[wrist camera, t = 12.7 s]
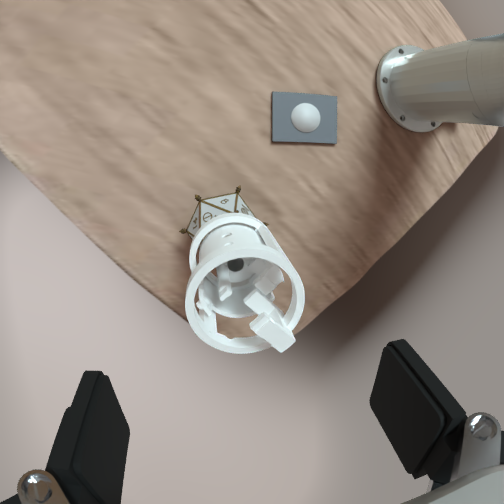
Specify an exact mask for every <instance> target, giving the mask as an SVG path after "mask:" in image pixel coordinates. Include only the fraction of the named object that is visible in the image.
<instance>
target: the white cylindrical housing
mask: <svg viewBox="0 0 504 504" xmlns="http://www.w3.org/2000/svg"><path fill="white" fill-rule="evenodd" d="M244 223H245V224H244ZM247 224H249V225H251V226H253V227H251V226H249V225H247ZM208 232H209V233H208ZM207 233H208V234H207ZM206 234H207V235H206ZM205 235H206V236H205ZM204 236H205V238H204ZM203 238H204V239H203ZM202 239H203V241H202V243H201V246H200V251H199V264H198V265H197V261H196V252H197V249H198V246H199V244H200V242H201V240H202ZM189 263H190V269H191V272H192V274H191V276H190V278H189V281H188V284H187V289H186V299H185V310H186V315H187V319H188V321H189V324H190V326H191V328H192V329H193V330H194V332H195V333H196V334H197V336H199V338H200V339H202V340H203V341H204V342H206V343H207V344H208V345H210V346H212V347H214V348H216V349H218V350H222V351H225V352H229V353H239V354H244V353H253V352H258V351H261V350H264V349H267V348H269V347H271V346H273V347H274V348H275V349H277V350H278V351H279V352H281V353H282V352H283V351H285V350H286V349H287V348H289V347H290V346H291V345H292V344H293V343H294V342H295V341H296V340H295V338H294V336H293V333H292V330H293V329H294V328H295V326H296V325H297V323H298V321H299V319H300V317H301V315H302V312H303V308H304V303H305V292H304V287H303V283H302V281H301V278H300V276H299V275H298V273H297V271H296V270H295V268H294V267H293V265H292V264H291V262H290V261H289V259H288V258H287V256H286V255H285V253H284V252H283V250H282V249H281V247H280V246H279V244H278V243H277V241H276V240H275V238H274V237H273V235H272V234H271V232H270V231H269V229H268V228H267V227H266V226H265V225H264V224H263V223H262V222H261V221H260V220H258V219H256V218H255V217H252V216H250V215H247V214H243V213H226V214H221V215H218V216H216V217H214V218H212V219H210V220H209V221H207V222H206V223H205V224H204V225H202V226H201V228H200V229H199V230H198V231H197V233H196V234H195V236H194V238H193V240H192V243H191V248H190V256H189ZM215 267H216V270H217V277H216V276H215V275H213V274H212V273H211V272H210V271H211V270H212V269H214V268H215ZM279 267H281V268H282V269H283V270H284V271H285V272H286V273H287V274H288V275H289V277H290V279H291V283H292V300H291V303H290V306H289V309H288V311H287V312H286V314H285V315H284V313H283V311H282V310H280V309H279V308H278V307H277V306H276V305H275V304H273V303H272V302H273V300H274V299H275V297H274V295H273V293H272V291H273V290H274V289H275V288H276V286H277V285H278V284H279V283H280V282H281V281H283V282H284V278H283V274H282V272H281V269H280V268H279ZM198 286H199V301H198V302H197V303H196V305H197V307H198V308H199V315H198V313H197V310H196V307H195V303H194V297H195V293H196V290H197V288H198ZM215 312H217V313H219V314H221V315H223V316H227V317H232V318H244V317H249V316H252V315H255V314H258V315H259V316H258V317H257V318H256V319H254V320H253V321H252V322H251V323H250V328H251V329H252V330H253V331H254V332H255V333H256V334H257V335H256V336H252V337H246V338H233V339H228V338H227V337H226V336H225V335H222V334H219V333H217V327H216V315H215Z"/></svg>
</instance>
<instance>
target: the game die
mask: <svg viewBox="0 0 504 504" xmlns="http://www.w3.org/2000/svg"><path fill="white" fill-rule="evenodd" d="M240 190H241V187H240V186H239V187H237V189H236V192H235V193H231V194H226V195H221V196H216V197H211V198H207V199H202V200H201V197H200V196H199V195H195V199H196V200H197V201H199V203H198V205H197V207H196V210H195V212H194V214H193V216H192V219H191V221H190V223H189V226H188V228H187V229H182V230H181V231H179V232H181V233H182V234H183V233H186V232H187V233H188V235H189V236H190V238H191V239H192V240H193V238H194V236H195V234H196V233H197V231H198V230H199V229H200V228H201V226H202V225H204V224H205V223H206V222H207V221H209V220H210V219H212V218H214V217H216V216H218V215H221V214H226V213H243V214H247V215H250V216H252V217H255V216H254V214H253V213H252V212H251V210H250V209H249V207H248V206H247V205H246V203H245V202H244V201H243V199H242V198H241V197H240V195H239V192H240ZM255 218H256V217H255ZM256 219H257V218H256ZM244 224H245V223H244ZM263 224H264V225H265V226H267V225H269V224H267V223H263ZM247 225H249V224H247ZM249 226H251V225H249ZM251 227H253V226H251ZM208 233H209V232H208ZM208 233H207V234H208ZM207 234H206V235H207ZM206 235H205V236H206ZM205 236H204V238H205ZM204 238H203V239H204ZM203 239H202V240H201V242H200V244H199V246H198V249H199V250H200V246H201V243H202V241H203Z"/></svg>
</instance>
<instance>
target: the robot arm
mask: <svg viewBox="0 0 504 504" xmlns="http://www.w3.org/2000/svg"><path fill="white" fill-rule="evenodd" d="M382 80H383V81H382ZM377 88H378V93H379V96H380V100H381V102H382V104H383V106H384V108H385V110H386V111H387V113H388V114H389V116H390V117H391V118H392V119H393V120H394V121H395V122H396V123H398V124H399V125H400V126H401V127H403V128H405V129H407V130H410V131H414V132H429V131H432V130H434V129H436V128H437V127H439V126H440V125H441V123H442V122H454V123H469V124H482V125H492V126H501V127H504V33H503V34H498V35H493V36H487V37H482V38H477V39H472V40H467V41H462V42H458V43H453V44H449V45H445V46H440V47H436V48H432V49H428V50H423V49H421V48H419V47H417V46H412V45H402V46H398V47H395V48H393V49H391V50H389V51H388V52H387V53H386V54H385V55H384V56H383V58H382V59H381V61H380V64H379V66H378V70H377ZM370 406H371V409H372V410H373V412H374V414H375V416H376V417H377V419H378V421H379V422H380V425H381V426H382V428H383V430H384V432H385V433H386V435H387V437H388V439H389V441H390V442H391V444H392V446H393V448H394V450H395V451H396V453H397V455H398V457H399V459H400V461H401V462H402V464H403V466H404V468H405V470H406V471H407V473H409V474H412V475H413V477H414V479H417V478H419V477H422V476H424V475H426V474H428V476H429V478H430V482H429V485H428V489H427V492H426V494H423V495H421V496H419V497H416V498H414V499H411V500H409V501H407V502H404V503H402V504H504V431H501V427H500V424H499V422H498V420H497V419H496V418H495V417H493V416H492V415H490V414H487V413H484V412H478V413H474V414H472V415H471V416H469V417H467V416H466V412H465V411H464V409H463V408H462V407H461V406H460V405H459V403H458V402H457V401H456V399H454V397H453V396H452V395H451V393H450V392H449V391H448V390H447V388H446V387H445V386H444V385H443V384H442V382H441V381H440V380H439V379H438V378H437V376H436V375H435V374H434V373H433V372H432V371H431V369H430V368H429V367H428V366H427V365H426V363H425V362H424V361H423V360H422V359H421V358H420V356H419V355H418V354H417V353H416V352H415V351H414V349H413V348H412V347H411V346H410V345H409V344H408V342H407V341H406V340H404V339H401V340H397V341H392V342H389V343H388V344H387V346H386V347H384V349H383V352H382V356H381V360H380V364H379V368H378V372H377V375H376V379H375V383H374V386H373V390H372V393H371V397H370ZM129 437H130V429H129V426H128V423H127V421H126V419H125V416H124V414H123V412H122V409H121V407H120V405H119V402H118V400H117V397H116V395H115V392H114V390H113V387H112V384H111V382H110V379H109V377H108V376H107V375H104V374H103V372H102V371H85V372H84V373H83V376H82V378H81V381H80V384H79V386H78V389H77V391H76V394H75V396H74V399H73V402H72V405H71V407H68V408H67V409H66V411H65V413H64V415H63V418H62V421H61V424H60V426H59V429H58V432H57V435H56V438H55V441H54V444H53V447H52V450H51V453H50V456H49V460H48V463H47V466H46V469H45V471H44V470H36V469H35V470H31V471H28V472H27V473H25V474H24V475H23V476H22V477H21V478H20V480H19V482H18V486H17V492H18V494H16V495H14V496H12V497H11V498H9V499H7V500H5V501H3V502H1V503H0V504H121V495H122V487H123V479H124V471H125V464H126V456H127V450H128V443H129Z"/></svg>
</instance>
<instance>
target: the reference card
mask: <svg viewBox="0 0 504 504" xmlns="http://www.w3.org/2000/svg"><path fill="white" fill-rule="evenodd" d="M272 141H285V142H315V143H334V144H337V96H328V95H317V94H305V93H290V92H272Z"/></svg>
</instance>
